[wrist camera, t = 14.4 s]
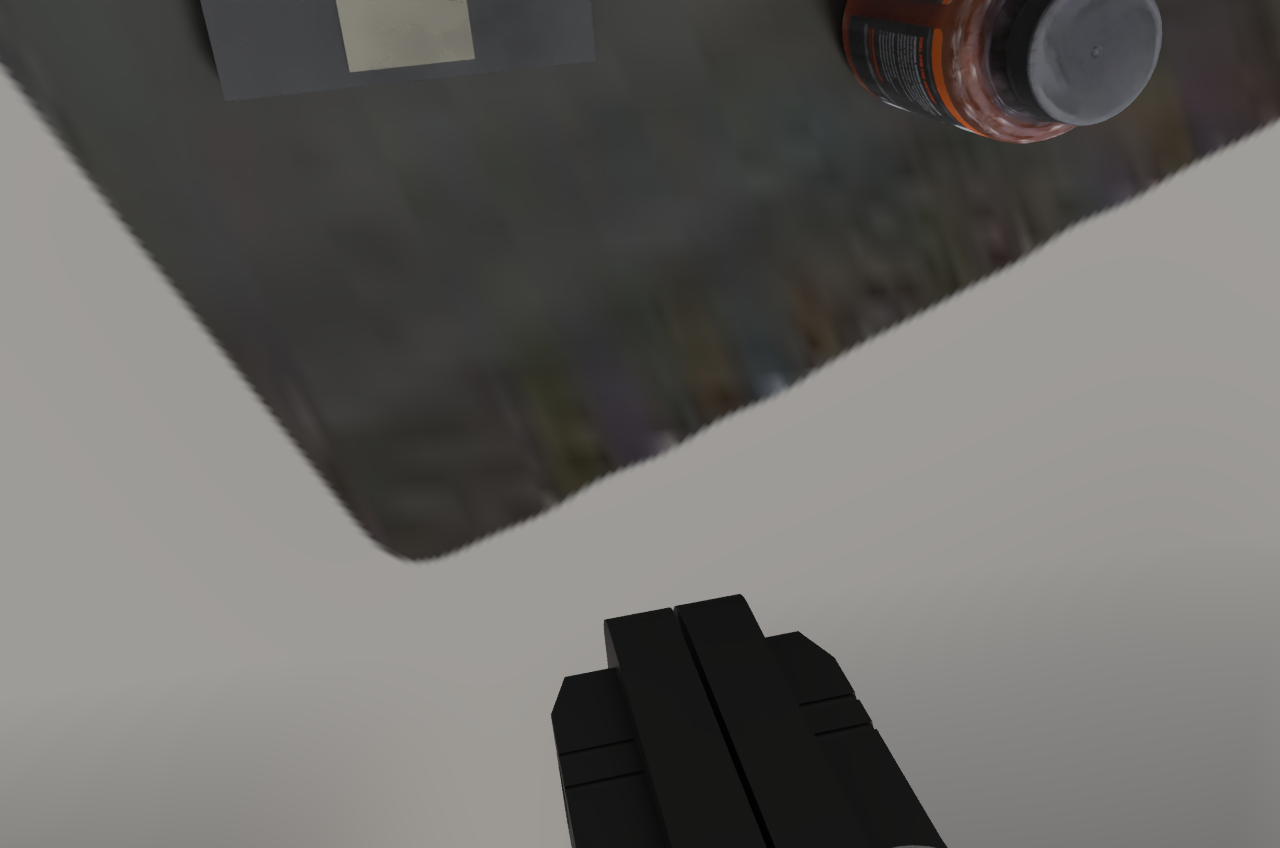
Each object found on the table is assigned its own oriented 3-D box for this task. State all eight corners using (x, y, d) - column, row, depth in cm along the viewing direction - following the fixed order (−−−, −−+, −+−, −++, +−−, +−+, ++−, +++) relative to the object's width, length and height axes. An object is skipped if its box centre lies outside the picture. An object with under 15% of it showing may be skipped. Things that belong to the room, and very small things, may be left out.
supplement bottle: (911, 138, 40) (1081, 208, 30) (802, 35, 37) (948, 75, 27) (1020, 6, 39) (1237, 33, 29) (915, -109, 36) (1111, -124, 26)
